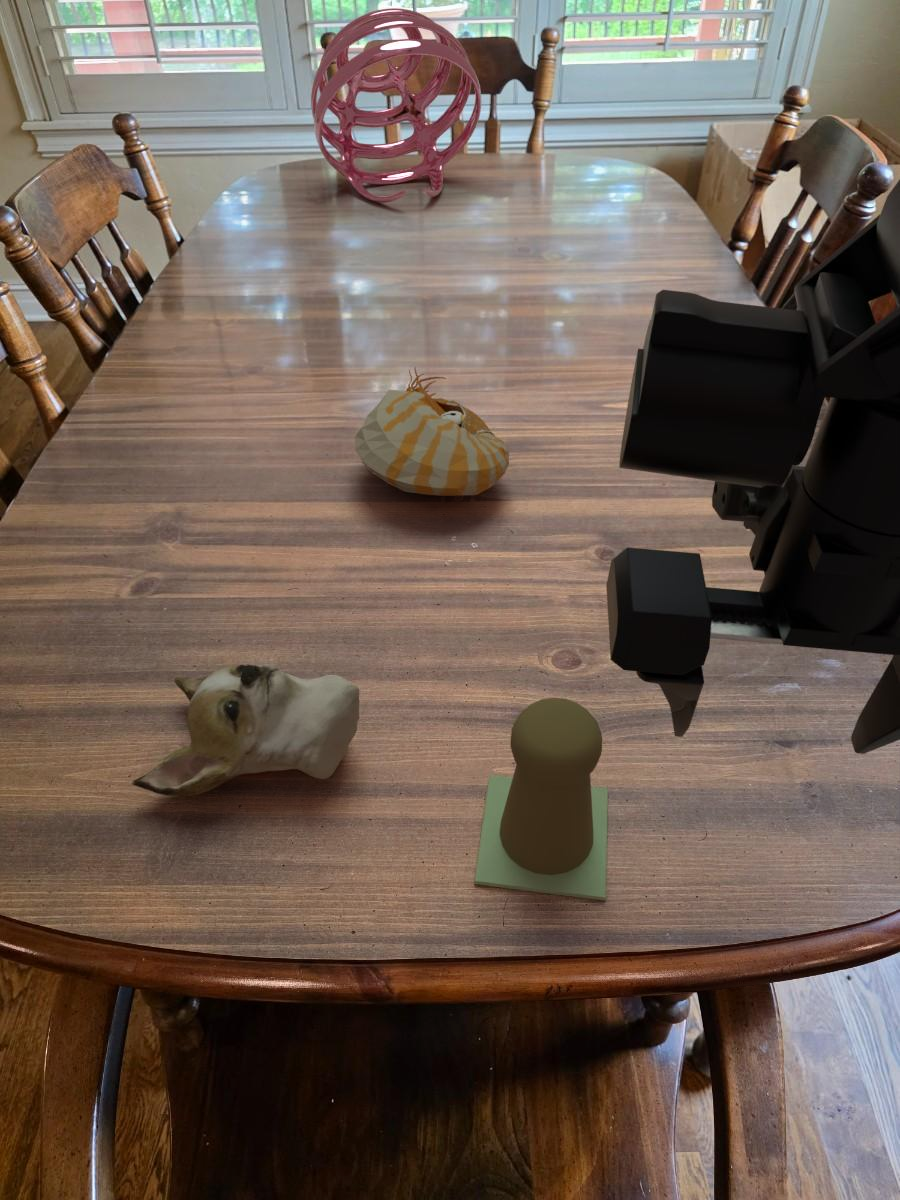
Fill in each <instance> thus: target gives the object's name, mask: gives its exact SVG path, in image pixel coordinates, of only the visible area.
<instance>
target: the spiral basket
mask: <svg viewBox="0 0 900 1200" xmlns="http://www.w3.org/2000/svg"><path fill="white" fill-rule="evenodd" d="M391 29H401V30H402V31H404V33H405V35H406V37H407V38H404V39H403V38H402V39H397V40H396V39H395V40H391V41H387V42H384V43H381V44H378V45H377V44H376V45H375V46H372V47H370V48H368V49H366V50H364V51H362V52H360V53H358V54H357V55H355V56H354V57H352V58H351V59H349V50H350V47H351V46H352V45H354V44H355V43H357V42H358V41H360V40H362V39H365V38H367V37H368V36H370V35H373V34H376V33H379V32H382V31H386V30H391ZM420 29H422V30H426V31H429V32H430V31H431V33H432V35H433V36H434V38H435V40H430V39H425V38H423V35H422V33H421V30H420ZM450 43H451V44H452V45H453V46H454V47H455V49H454V48H453V47H451V45H450ZM423 56H428V57H435V58H437V64H436V66H435V70H434V72H433V74H432V76H431V77H430V79H429V81H428V82H427V83H426V84H425V86H424V87H423V88H422V89H421V90H420V91H419V92H418V93H416V94H414V93H412V91H410V89H409V87H408V84H407V82H408V80H409V79H410V78H411V77H412V76H413V75H414V74H415V72H416V71H417V70H418V68H419V66H420V63H421V62H422V59H423ZM399 57H405V58H404V59H403V60H402V62H401V63H400V64H399V65H398V66H395V64H393V63H392V61H391V60H390V59H394V58H395V59H396V58H399ZM334 61H335V67H336V70H337V71H336V72H335V73H334V74H333V75H332V76H331V78H330V79H328V74H327V73H328V72H327V71H328V69H329V67H330V66H331V64H332V63H333V62H334ZM384 61H385V63H386V65H387V68H388V72H387V73H385V74H381V75H366V74H365V72H366V69H369V68H370V67H372V66H375V65H377V64H379V63H382V62H384ZM452 64H454V65H455V66H457V67H458V68H460V69H461V79H460V83H459V86H458V90H457V92H456V94H455V96H454V98H453V100H452V101H451V103H450V105H449V106H448V107H447V109H446V110H445V111H444V112H443V113H442V115H440V117H438V118H437V119H436V120H435V121H434V122H432V123H428V122H427V121H426V119H425V117H424V113H425V110H426V109H427V107H429V106H430V105H431V104H432V103H433V102H434V101H435V100H436V99H437V98H438V96H439V95H440V94H441V92H442V90H443V89H444V87H445V85H446V84H447V81H448V79H449V76H450V72H451V68H452ZM311 85H312V86H311V91H310V109H311V114H312V119H313V129H314V135H315V139H316V143H317V145H318V148H319V150H320V152H321V154H322V155H323V157H324V159H325V160H326V161H327V163H328V164H329V166H331V167H332V168H333V169H334V170H336V171H337V172H338V173H339V174H341V175H342V176H343V177H345V178H346V180H348V182H349V183H350V184H351V185H352V187H353V188H354V190H356V192H357V193H358V194H360V195H361V196H362V197H364V198H365V199H367V200H369V201H371V202H373V203H374V202H375V203H381V204H388V203H392V202H396V201H398V200H400V199H402V198H403V197H404V196H406V195H407V190H406V189H405V190H401V191H398V192H396V193H394V194H390V195H384V196H381V195H375V194H372V193H371V192H369V191H368V190H367V189H366V188H365V186H364V185H363V184H370V185H377V186H378V185H381V186H382V185H383V186H384V185H395V184H396V185H397V184H402V183H406V182H410V181H413V180H416V179H420V178H422V177H428V178H429V180H430V184H431V186H430V187H431V189H430V188H428V187H424V189H423V190H424V193H425V194H426V195H427V196H428V197H430V198H435V197H437V196H438V195H439V194H440V193H442V190H443V186H444V175H443V174H444V173H443V169H444V168H445V166H446V165H447V163H449V162H450V161H451V160H452V159H453V158H454V157H455V156H456V155H458V154H459V153H460V152H461V150H462V149H463V148H464V147H465V146H466V145H467V143H468V142H469V141H470V139H471V137H472V136H473V135H474V132H475V130H476V128H477V125H478V123H479V120H480V116H481V112H482V91H481V90H482V89H481V85H480V82H479V78H478V76H477V73H476V71H475V69H474V68H473V66H472V65H471V62H470V59H469V57H468V54H467V52H466V50H465V48H464V47H463V45H462V44H461V42H460V41H459V40H458V39H457V37H456V36H455V35H454V34H453V33H452V32H450V31H449V30H448V29H447V28H445V27H444V26H442V25H440V24H438V23H437V22H435V21H434V20H432V19H431V18H430V17H428V16H426V15H424V14H422V13H420V12H418V11H415V10H411V9H407V8H397V7H396V8H395V7H393V8H381V9H377V10H373V11H370V12H367V13H365V14H363V15H360V16H358V17H356V18H354V19H353V20H351V21H350V22H349V23H347V24H346V25H345V26H343V27H342V28H341V29H340V30H339V31H338V32H336V33H335V35H334V36H333V38H332V39H331V40H330V42H329V43H328V44H327V46H326V48H325V50H324V51H323V54H322V57H321V59H320V63H319V66H318V68H317V70H316V72H315V76H314V77H313V81H312V84H311ZM345 85H347V87H348V91H347V95H346V98H345V99H344V100H341V99H339V98H338V97H337V94H338V92H339V91H341V89H342V88H343V87H344V86H345ZM472 85H473V89H474V105H473V109H472V112H471V114H470V117H469V119H468V121H467V123H466V125H465V126H464V128H463V130H462V131H461V132H460V134H459V135H457V137H456V138H455V140H453V142H451V143H450V144H449V145H448V146H447V147H446V148H445V149H442V150H438V148H437V141H438V139H439V138H440V137H441V136H443V135H444V134H445V132H447V131H448V130H449V129H450V128H451V127H452V126H453V125H454V123H456V121H457V119H458V118H459V117H460V116H461V114H462V112H463V110H464V108H465V106H466V105H467V102H468V99H469V96H470V93H471V89H472ZM318 90H319V91H318ZM389 90H397V92H398V93H399V95H400V97H401V98H400V99H401V102H400V103H399V105H397V106H394V107H391V108H386V109H380V110H366V109H365V110H364V109H360V108H358V107H357V105H356V101H357V96H358V94H359V93H361V92H363V93H369V94H374V93H383V92H387V91H389ZM318 92H319V94H320V95H319V97H318ZM317 97H318V99H317ZM327 109H328V110H329V111H330V112H331V113H332V114H333V115H335V116H336V118H337V119H338V121H339V132H338V133H337V132H335V131H334V130H332V128H330V127H329V126H328V125H327V123H326V122H325V120H324V119H325V115H326V112H327ZM402 122H409V123H410V124H411V125H412V128H413V133H412V134H411V135H410V136H409V137H407V138H404V139H401V140H397V141H393V142H388V143H387V142H386V143H375V144H373V143H372V144H371V143H370V144H369V143H363V142H358V141H356V140H355V139H354V137H353V135H352V134H353V133H352V132H353V129H354V127H362V128H383V127H388V126H393V125H397V124H399V123H402ZM323 139H324V140H325V141H326V142H327V143H328V144H329V145H331V146H332V147H333V148H334V149H335V150H336V151H337V152H338V153H339V156H340V160H341V161H339V160H338V159H336V158H335V157H334V156H333V155H332V154H331V152H329V151H328V149H327V147H326V146H325V143H324V140H323ZM415 152H420V153H421V154H422V156H423V159H422V161H421V162H420V163H419V164H416V165H414V166H411V167H409V168H405V169H404V168H403V169H401V170H395V171H389V172H373V171H371V172H370V171H364V170H361V169H359V168H358V167H357V166H356V164H355V159H357V158H358V159H359V158H360V159H367V160H386V159H393V158H398V157H401V156H402V157H403V156H405V155H407V154H411V153H415Z"/></svg>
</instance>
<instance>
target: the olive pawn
mask: <svg viewBox="0 0 900 1200" xmlns="http://www.w3.org/2000/svg"><path fill="white" fill-rule="evenodd" d="M510 750H511V753H512V757H513V759H514V762H515V769H514V772H513V776H512V778H513V779H512V782H511V786H510V790H509V793H508V797H507V800H506V804H505V808H504V811H503V815H502V818H501V824H500V833H499V834H500V838H501V842H502V846H503V848H504V849H505V851H506V852H507V854H508V855H509V857H510V858H511V859H512V860H513V861H515V862H516V863H517V864H518V865H519V866H521V867H522V868H524V869H527V870H529V871H532V872H534V873H537V874H546V875H555V874H561V873H566V872H568V871H570V870H572V869H574V868H576V867H578V866H579V865H580V864H581V863H582V862H583V861H584V860H585V859H586V858H587V857H588V856H589V853H590V851H591V848H592V846H593V832H594V831H593V814H592V797H591V787H592V784H591V783H592V782H591V773H593V772H594V770H595V768H596V767H597V766H598V763H599V761H600V758H601V756H602V753H603V752H602V751H603V734H602V731H601V728H600V725H599V723H598V721H597V719H596V718H595V717H594V716H593V715H592V714H591V712H590V711H589V710H588V709H587V708H585V707H584V706H583V705H581V704H580V703H578V702H576V701H573V700H570V699H568V698H563V697H547V698H541V699H539V700H537V701H534V702H532V703H530V704H529V705H528V706H527V707H526V708H524V709H523V710H522V711H521V712H519V714H518V715H517V718H516V719H515V721H514V723H513V725H512V727H511V734H510Z"/></svg>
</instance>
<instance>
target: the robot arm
mask: <svg viewBox="0 0 900 1200" xmlns="http://www.w3.org/2000/svg"><path fill="white" fill-rule="evenodd" d="M891 293H892V296H893V299H894V301H895V303H896V306H897V307H896V308H895V309H893V310H892V311H890V312H889V313H888V314H886V315H885V316H884V317H882V318H881V319H880V320H878V321H877V322H876V319H875V316H874V313H873V310H872V307H871V305H870V302H871V301H874V300H876V299H878V298H881V297H883V296H886V295H888V294H891ZM794 296H795V301H796V309H791V308H790V309H789V308H782V307H781V308H780V307H772V306H763V305H754V304H745V303H736V302H728V301H719V300H714V299H710V298H707V297H705V296H702V295H699V294H697V293H692V292H687V291H680V290H679V291H678V290H670V289H661V290H660V291H659V292H657V293H656V294H655V298H654V303H653V308H652V312H651V318H650V320H649V323H648V325H647V329H646V334H645V337H644V342H643V347H642V348H637V351H636V357H635V361H634V367H633V373H632V378H631V383H630V390H629V394H628V400H627V405H626V406H627V407H626V413H625V420H624V424H623V433H622V439H621V447H620V452H619V453H620V454H619V464H618V465H619V469H623V470H625V469H626V470H633V471H638V472H645V473H652V474H658V475H659V474H660V475H668V476H675V477H683V478H689V479H696V480H703V481H711V482H714V484H713V490H712V496H711V506H712V508H713V510H714V511H715V513H716V514H717V516H718V517H719V519H720V520H721V521H730V522H743V523H742V524H743V527H744V528H745V529H746V530H750V531H751V532H752V534H753V535H754V539H753V541H752V544H751V547H750V550H749V554H748V555H749V559H750V563H751V567H752V570H753V571H757V572H758V571H759V572H763V573H764V577H763V580H762V582H761V585H760V587H759V590H758V591H755V590H744V589H733V588H732V589H731V588H721V587H710V586H707V585H706V579H705V574H704V569H703V564H702V558H701V553H699V552H698V553H697V552H688V551H674V550H663V549H651V548H650V549H648V548H641V547H639V548H637V547H626V548H624V549H623V550H622V551H621V552H620V553H618V554H617V555H616V556H615V557H614V558H612V559H611V561H610V566H609V571H608V576H607V581H606V588H605V589H606V604H607V620H608V633H609V634H608V637H609V638H608V639H609V654H610V655H609V656H610V661H611V662H612V663H614V664H615V665H617V666H618V667H619V668H620V669H622V670H623V671H628V672H630V671H631V672H635V673H636V675H637V677H638V678H639V679H640V680H641V681H643V682H645V683H650V684H657V685H659V687H660V689H661V691H662V693H663V695H664V697H665V699H666V701H667V703H668V705H669V710H670V715H671V720H672V728H673V733H674V734H673V735H674V737H677V738H678V737H679V738H682V737H684V736H685V734H686V733H687V731H688V730H689V728H690V726H691V724H692V721H693V717H694V715H695V712H696V708H697V705H698V702H699V700H700V696H701V693H702V691H703V687H704V684H705V678H704V672H703V666H705V663H706V659H707V657H708V654H709V651H710V646H711V639H718V640H727V641H728V640H729V641H741V642H749V643H750V642H752V643H753V642H754V643H762V644H764V643H765V644H774V645H775V644H776V645H783V646H787V647H800V648H809V649H810V648H811V649H819V650H820V649H821V650H831V651H842V652H843V651H844V652H853V653H864V654H865V653H867V654H878V655H887V656H888V655H890V656H892V657H891V660H890V661H889V663H888V665H887V667H886V669H885V670H884V672H883V673H882V675H881V677H880V678H879V681H878V682H877V684H876V685H875V687H874V689H873V691H872V693H871V695H870V696H869V698H868V700H867V701H866V703H865V705H864V707H863V709H862V710H861V712H860V714H859V715H858V718H857V720H856V722H855V726H854V728H853V731H852V733H851V736H850V742H851V745H852V747H853V750H854V753H855V754H860V755H865V754H867V753H869V752H872V751H875V750H878V749H880V748H882V747H885V746H887V745H890V744H893V743H895V742H898V741H900V179H898V181H897V182H896V184H895V185H894V186H893V188H892V189H891V191H890V192H889V193H888V194H887V196H886V199H885V201H884V203H883V206H882V209H881V212H880V213H879V214H878V216H875V218H873V220H871V221H870V222H869V223H868V224H866V225H864V227H863V228H861V230H859V231H858V232H857V233H856V234H854V235H853V236H852V237H851V238H850V239H848V240H847V241H846V242H845V243H844V244H842V245H840V247H839V248H838V249H837V250H835V251H834V252H833V253H832V254H830V255H829V256H828V257H827V258H826V259H825V260H823V261H822V262H821V263H820V264H819V265H817V266H816V267H815V268H813V270H811V271H810V272H809V273H808V274H806V275H805V276H804V277H803V278H801V279H800V280H799V281H798V282H797V283H796V284H795V286H794ZM826 398H829V401H828V403H827V407H826V409H825V412H824V414H823V418H822V419H821V422H820V425H819V428H818V430H817V433H815V432H816V429H817V425H818V422H819V417H820V414H821V410H822V407H823V404H824V401H825V399H826ZM815 434H816V436H815ZM814 436H815V440H814V439H813V438H814ZM813 440H814V442H813V444H812V441H813ZM811 444H812V446H811ZM810 447H811V449H810ZM809 449H810V452H809ZM808 452H809V455H808V458H807V460H806V462H805V466H800V465H801V463H802V462H803V461H804V459H805V457H806V456H807V454H808Z"/></svg>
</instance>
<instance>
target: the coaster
mask: <svg viewBox="0 0 900 1200" xmlns="http://www.w3.org/2000/svg"><path fill="white" fill-rule="evenodd" d="M512 779H513V777H508V776H501V775H492V774H490V775H488V782H487V789H486V795H485V802H484V809H483V810H484V811H483V817H482V825H481V831H480V838H479V845H478V851H477V852H478V853H477V860H476V867H475V873H474V874H475V875H474V885H480V886H487V887H496V888H503V889H509V890H510V889H511V890H518V891H526V892H534V893H540V894H541V893H542V894H548V895H556V896H564V897H571V898H572V897H573V898H580V899H581V898H582V899H588V900H595V901H603V902H604V901H606V900H607V863H608V862H607V861H608V859H607V858H608V812H609V811H608V806H609V801H608V800H609V789H608V787H607V788H606V787H597V786H591V797H592V814H593V831H594V832H593V846H592V848H591V851H590V853H589V856H588V857H587V858H586V859H585V860H584V861H583V862H582V863H581V864H580V865H579V866H578V867H576V868H574V869H572V870H570V871H568V872H566V873H561V874H555V875H546V874H537V873H534V872H532V871H529V870H527V869H524V868H522V867H521V866H519V865H518V864H517V863H516V862H515V861H513V860H512V859H511V858H510V857H509V855H508V854H507V852H506V851H505V849H504V848H503V846H502V842H501V838H500V834H499V833H500V824H501V818H502V815H503V811H504V808H505V804H506V800H507V797H508V793H509V790H510V786H511V782H512Z"/></svg>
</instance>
